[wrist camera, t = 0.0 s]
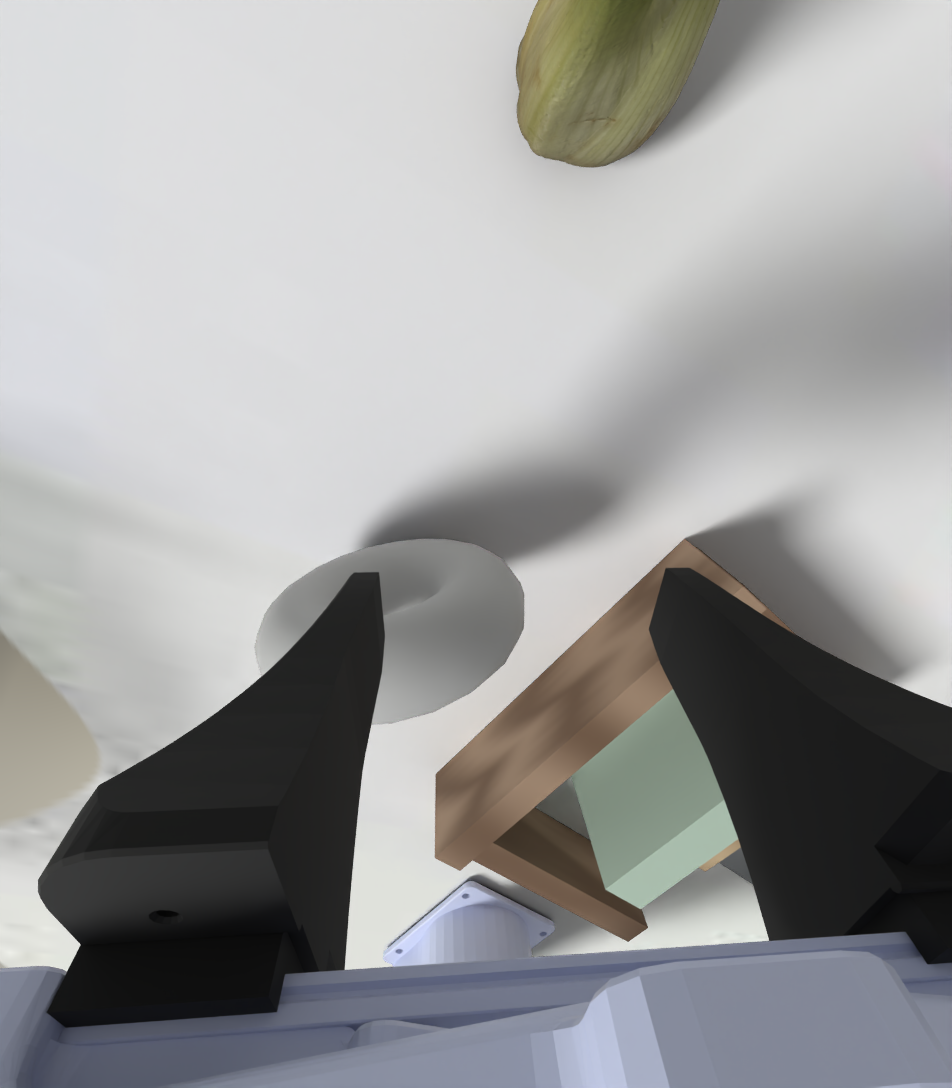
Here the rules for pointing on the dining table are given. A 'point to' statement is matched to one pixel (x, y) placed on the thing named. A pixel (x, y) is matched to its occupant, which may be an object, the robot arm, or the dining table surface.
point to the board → (652, 805)
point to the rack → (563, 754)
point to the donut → (414, 619)
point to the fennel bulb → (604, 73)
